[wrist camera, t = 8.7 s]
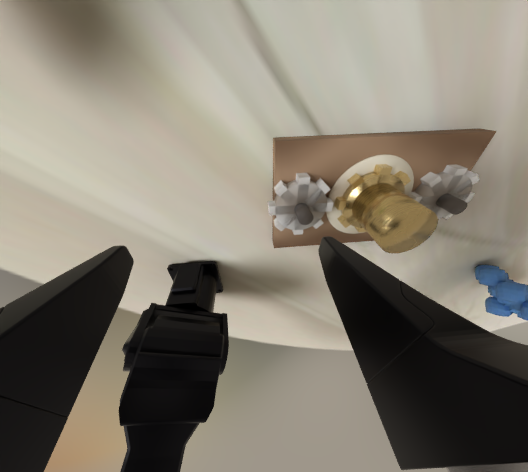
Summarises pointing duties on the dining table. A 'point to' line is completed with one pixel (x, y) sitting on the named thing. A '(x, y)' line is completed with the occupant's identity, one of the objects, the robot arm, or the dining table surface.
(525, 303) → the grapes
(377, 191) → the brass gear
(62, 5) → the dining table surface
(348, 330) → the robot arm
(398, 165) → the gear board
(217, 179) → the dining table surface
